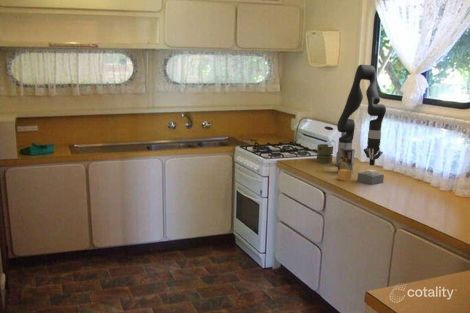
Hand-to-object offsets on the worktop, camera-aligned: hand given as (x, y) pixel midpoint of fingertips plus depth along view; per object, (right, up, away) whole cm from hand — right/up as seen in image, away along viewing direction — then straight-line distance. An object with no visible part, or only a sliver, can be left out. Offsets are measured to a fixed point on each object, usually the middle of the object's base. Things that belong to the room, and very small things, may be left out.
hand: (371, 165), depth 296 cm
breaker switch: (0, -6, +1) cm, 6 cm away
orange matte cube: (-16, -9, +5) cm, 19 cm away
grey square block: (0, -10, +2) cm, 10 cm away
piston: (-19, +1, +58) cm, 60 cm away
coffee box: (-11, -6, +22) cm, 26 cm away
